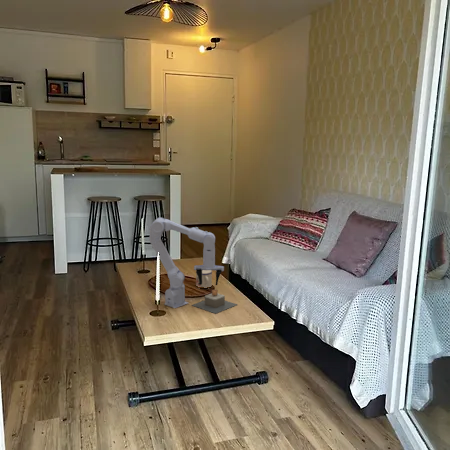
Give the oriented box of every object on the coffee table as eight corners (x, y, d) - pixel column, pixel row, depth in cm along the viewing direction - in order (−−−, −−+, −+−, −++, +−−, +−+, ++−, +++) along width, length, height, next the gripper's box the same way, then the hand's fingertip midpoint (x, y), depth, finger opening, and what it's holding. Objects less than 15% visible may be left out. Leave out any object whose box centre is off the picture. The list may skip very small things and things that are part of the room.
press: (215, 313, 213) (215, 303, 213) (191, 305, 224) (191, 296, 223) (237, 305, 225) (237, 295, 224) (213, 297, 236) (213, 288, 235)
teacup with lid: (193, 285, 256) (193, 265, 254) (209, 283, 259) (209, 263, 257) (199, 291, 245) (199, 270, 243) (215, 290, 248) (215, 269, 246)
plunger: (214, 304, 221) (215, 292, 220) (207, 302, 224) (207, 290, 223) (221, 301, 224) (221, 290, 223) (214, 299, 228) (214, 288, 227)
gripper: (193, 259, 218) (193, 286, 221) (223, 260, 217) (222, 287, 219) (195, 255, 225) (195, 281, 227) (224, 256, 224) (224, 283, 226)
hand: (208, 284), depth 224 cm, fingers open, 7 cm apart
